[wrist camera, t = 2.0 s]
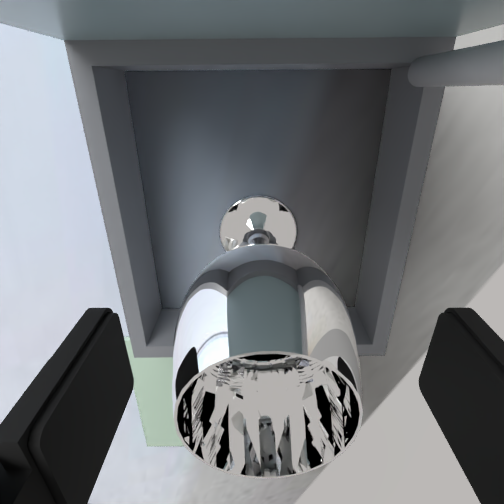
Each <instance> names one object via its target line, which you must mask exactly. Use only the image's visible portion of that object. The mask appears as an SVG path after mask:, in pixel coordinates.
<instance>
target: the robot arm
mask: <svg viewBox="0 0 504 504" xmlns="http://www.w3.org/2000/svg"><path fill="white" fill-rule="evenodd" d="M133 386H134V377H133V373H132V369H131V365H130V361H129V357H128V352H127V348H126V344H125V340H124V336H123V332H122V328H121V324H120V320H119V316H118V314H117V313H113V311H112V310H111V309H110V308H89V309H87V310H86V312H85V313H84V314H83V316H82V317H81V318H80V320H79V321H78V322H77V324H76V325H75V326H74V328H73V329H72V330H71V332H70V333H69V334H68V336H67V337H66V338H65V340H64V341H63V342H62V344H61V345H60V347H59V348H58V349H57V351H56V352H55V353H54V355H53V356H52V357H51V358H50V359H49V360H48V361H47V363H46V364H45V365H44V367H43V368H42V369H41V371H40V372H39V373H38V375H37V376H36V377H35V379H34V380H33V381H32V383H31V384H30V386H29V387H28V388H27V390H26V391H25V392H24V394H23V395H22V396H21V398H20V399H19V400H18V402H17V403H16V404H15V406H14V407H13V408H12V410H11V411H10V412H9V414H8V415H7V416H6V418H5V419H4V420H3V422H2V423H1V424H0V504H87V503H88V500H89V498H90V495H91V493H92V490H93V488H94V485H95V483H96V480H97V478H98V475H99V473H100V470H101V468H102V465H103V463H104V460H105V458H106V455H107V453H108V450H109V448H110V445H111V443H112V440H113V438H114V435H115V433H116V430H117V428H118V425H119V423H120V420H121V418H122V415H123V413H124V410H125V408H126V405H127V403H128V400H129V398H130V395H131V393H132V390H133ZM419 387H420V390H421V392H422V395H423V396H424V398H425V400H426V402H427V404H428V406H429V408H430V409H431V411H432V413H433V415H434V417H435V419H436V421H437V423H438V424H439V426H440V428H441V430H442V432H443V434H444V436H445V438H446V439H447V441H448V443H449V445H450V447H451V449H452V451H453V452H454V454H455V456H456V458H457V460H458V462H459V464H460V466H461V467H462V469H463V471H464V473H465V475H466V477H467V479H468V480H469V482H470V484H471V486H472V488H473V490H474V492H475V494H476V496H477V497H478V499H479V501H480V503H481V504H504V341H503V340H502V339H501V338H500V337H499V336H498V335H497V334H496V333H495V332H494V331H493V330H492V329H491V328H490V327H489V325H487V323H486V322H485V321H484V320H483V319H482V318H481V317H480V316H479V315H478V314H477V313H476V312H475V311H474V310H473V309H471V308H447V309H446V310H445V312H444V313H441V314H440V315H439V317H438V320H437V323H436V327H435V330H434V333H433V336H432V339H431V342H430V346H429V349H428V352H427V355H426V358H425V361H424V364H423V368H422V371H421V374H420V377H419Z"/></svg>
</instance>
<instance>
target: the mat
mask: <svg viewBox="0 0 504 504" xmlns="http://www.w3.org/2000/svg"><path fill="white" fill-rule="evenodd" d="M124 340H125V344H126V348H127V352H128V357H129V361H130V365H131V369H132V373H133V377H134V386H133V387H134V392H135V396H136V400H137V404H138V409H139V413H140V417H141V421H142V426H143V430H144V434H145V439H146V443H147V446H184V445H183V443H182V441H181V440H180V438H179V436H178V435H177V432H176V428H175V423H174V419H173V404H172V358H173V357H160V358H134V355H133V350H132V346H131V341H130V337H124Z"/></svg>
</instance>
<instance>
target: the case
mask: <svg viewBox="0 0 504 504" xmlns="http://www.w3.org/2000/svg"><path fill="white" fill-rule="evenodd" d="M0 23H3V24H6V25H10V26H14V27H17V28H21V29H25V30H28V31H32V32H36V33H39V34H43V35H47V36H50V37H54V38H58V39H61V40H64V42H65V46H66V51H67V55H68V60H69V64H70V69H71V74H72V78H73V83H74V87H75V92H76V96H77V101H78V105H79V110H80V114H81V119H82V123H83V128H84V133H85V137H86V142H87V146H88V151H89V155H90V160H91V164H92V169H93V173H94V178H95V182H96V187H97V191H98V196H99V201H100V205H101V210H102V214H103V219H104V223H105V228H106V232H107V237H108V241H109V246H110V250H111V255H112V260H113V264H114V269H115V273H116V278H117V282H118V287H119V291H120V296H121V300H122V305H123V309H124V314H125V319H126V323H127V328H128V332H129V337H130V341H131V346H132V350H133V355H134V358H160V357H173V342H174V333H175V327H176V323H177V318H178V314H179V311H180V308H167V309H162V306H161V300H160V294H159V287H158V281H157V275H156V268H155V262H154V256H153V249H152V243H151V236H150V230H149V224H148V217H147V211H146V205H145V198H144V192H143V186H142V179H141V173H140V167H139V160H138V154H137V148H136V141H135V135H134V128H133V122H132V116H131V109H130V103H129V97H128V90H127V84H126V78H125V71H186V70H294V69H392V71H391V77H390V84H389V90H388V96H387V103H386V109H385V116H384V122H383V128H382V135H381V141H380V147H379V154H378V160H377V166H376V173H375V179H374V186H373V192H372V198H371V205H370V211H369V217H368V224H367V230H366V237H365V243H364V249H363V256H362V262H361V268H360V275H359V281H358V288H357V294H356V300H355V307H347V308H348V311H349V314H350V318H351V321H352V325H353V329H354V332H355V337H356V343H357V348H358V354H359V356H382V355H385V352H386V348H387V343H388V339H389V334H390V330H391V325H392V321H393V317H394V312H395V308H396V303H397V299H398V294H399V290H400V285H401V281H402V276H403V272H404V267H405V263H406V259H407V254H408V250H409V245H410V241H411V236H412V232H413V227H414V223H415V218H416V214H417V209H418V205H419V201H420V196H421V192H422V187H423V183H424V178H425V174H426V169H427V165H428V160H429V156H430V151H431V147H432V142H433V138H434V134H435V129H436V125H437V120H438V116H439V111H440V107H441V102H442V98H443V93H444V89H445V86H482V85H504V40H502V41H497V42H492V43H487V44H483V45H478V46H473V47H468V48H463V49H458V50H453V49H454V44H455V40H456V37H457V36H461V35H464V34H468V33H472V32H476V31H479V30H483V29H487V28H491V27H494V26H498V25H502V24H504V0H0Z"/></svg>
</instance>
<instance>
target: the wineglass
mask: <svg viewBox="0 0 504 504" xmlns="http://www.w3.org/2000/svg"><path fill="white" fill-rule="evenodd" d="M219 236H220V241H221V244H222V246H223V248H224V250H225V251H226V253H224V254H222V255H220V256H218V257H217V258H216V259H214V260H213V261H212V262H210V263H209V264H208V265H207V266H206V267H205V268H204V269H203V270H202V271H201V272H200V273H199V274H198V276H197V277H196V279H195V280H194V282H193V283H192V284H191V286H190V288H189V290H188V292H187V294H186V295H185V297H184V300H183V302H182V305H181V308H180V311H179V314H178V318H177V323H176V327H175V333H174V342H173V358H172V404H173V419H174V423H175V428H176V432H177V435H178V436H179V438H180V440H181V441H182V443H183V445H184V446H185V447H186V448H187V449H188V450H189V451H190V452H191V453H192V454H193V455H194V456H195V457H196V458H198V459H199V460H201V461H203V462H204V463H206V464H207V465H209V466H211V467H213V468H216V469H218V470H221V471H223V472H226V473H229V474H233V475H237V476H242V477H248V478H259V479H273V478H283V477H290V476H294V475H299V474H303V473H306V472H309V471H312V470H315V469H317V468H319V467H321V466H323V465H325V464H327V463H329V462H331V461H332V460H334V459H335V458H336V457H338V456H339V455H340V454H342V453H343V452H344V451H345V450H346V449H347V448H348V447H349V446H350V444H351V443H352V442H353V441H354V439H355V437H356V435H357V434H358V432H359V430H360V428H361V422H362V415H363V398H362V384H361V370H360V361H359V354H358V348H357V343H356V337H355V332H354V329H353V325H352V321H351V318H350V314H349V311H348V308H347V306H346V303H345V301H344V299H343V297H342V295H341V293H340V291H339V289H338V288H337V286H336V285H335V283H334V282H333V281H332V279H331V278H330V277H329V275H328V274H327V273H326V272H325V271H324V270H323V269H322V268H321V267H320V266H319V265H318V264H317V263H316V262H315V261H313V260H312V259H311V258H309V257H308V256H306V255H304V254H302V253H301V252H299V251H297V250H294V249H292V248H293V246H294V244H295V241H296V237H297V225H296V221H295V218H294V216H293V214H292V212H291V211H290V210H289V209H288V207H287V206H285V205H284V204H283V203H282V202H280V201H279V200H277V199H274V198H271V197H268V196H259V195H256V196H249V197H246V198H243V199H241V200H238V201H237V202H236V203H234V204H233V205H231V206H230V207H229V209H228V210H227V211H226V212H225V214H224V216H223V217H222V220H221V223H220V228H219Z"/></svg>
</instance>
